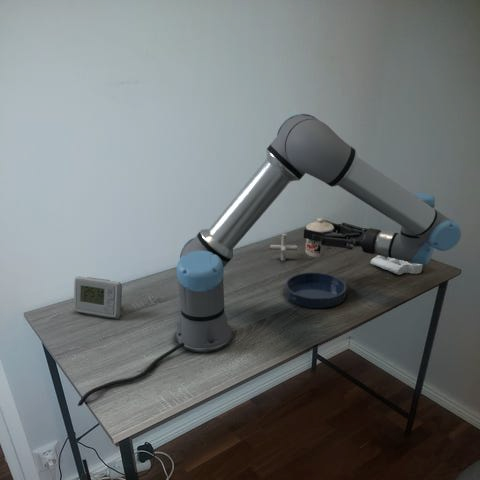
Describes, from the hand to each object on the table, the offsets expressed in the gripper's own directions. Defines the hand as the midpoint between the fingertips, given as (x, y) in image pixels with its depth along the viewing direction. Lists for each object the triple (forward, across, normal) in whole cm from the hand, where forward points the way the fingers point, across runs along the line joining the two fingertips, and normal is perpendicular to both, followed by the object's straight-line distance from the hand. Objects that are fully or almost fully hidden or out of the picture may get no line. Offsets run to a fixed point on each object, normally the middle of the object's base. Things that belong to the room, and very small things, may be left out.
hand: (311, 229), depth 147 cm
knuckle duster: (-22, +27, -18) cm, 40 cm away
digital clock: (+42, -56, -18) cm, 72 cm away
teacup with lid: (-4, 0, -8) cm, 9 cm away
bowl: (-7, -9, -18) cm, 21 cm away
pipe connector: (+16, +10, -18) cm, 26 cm away
